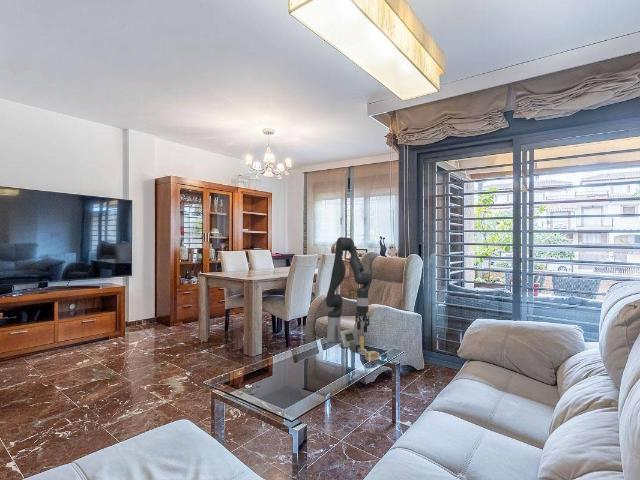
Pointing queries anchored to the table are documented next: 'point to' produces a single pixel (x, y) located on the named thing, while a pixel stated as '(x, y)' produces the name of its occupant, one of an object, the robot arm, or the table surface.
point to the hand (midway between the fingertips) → (362, 330)
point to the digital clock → (348, 337)
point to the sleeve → (353, 346)
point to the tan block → (371, 355)
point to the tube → (361, 346)
